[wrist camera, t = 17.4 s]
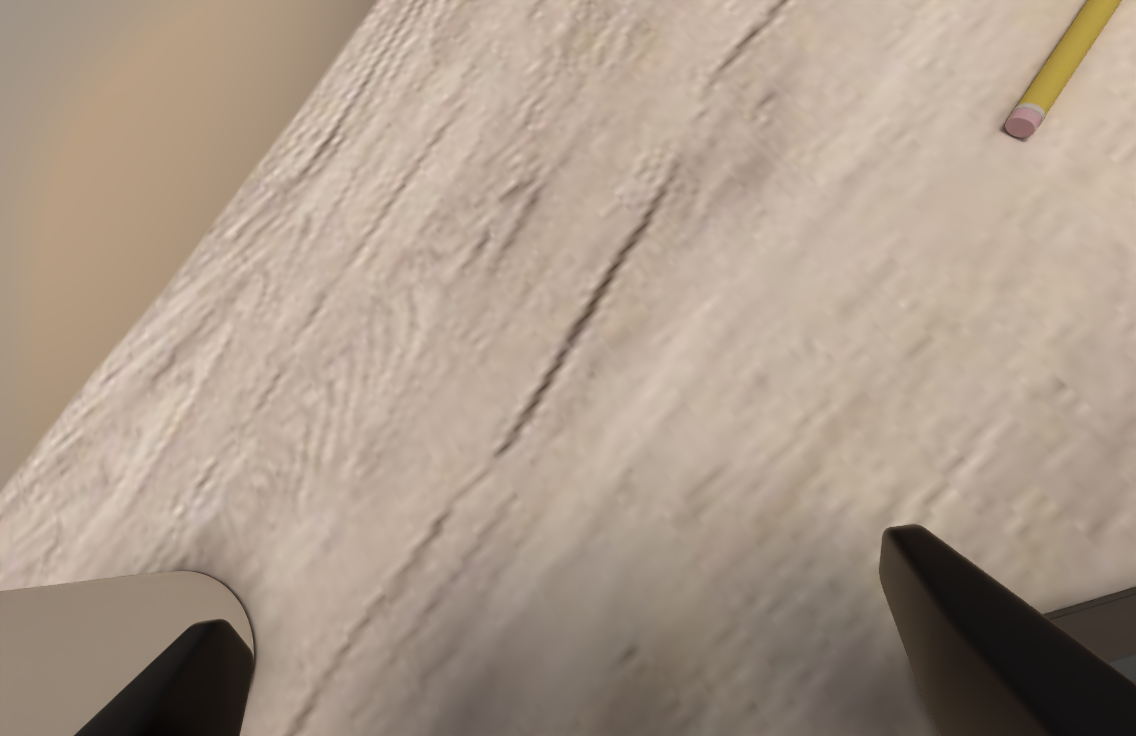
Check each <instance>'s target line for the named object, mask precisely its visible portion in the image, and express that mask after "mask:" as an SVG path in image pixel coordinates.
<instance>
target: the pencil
mask: <svg viewBox="0 0 1136 736" xmlns="http://www.w3.org/2000/svg"><path fill="white" fill-rule="evenodd" d="M1121 1H1122V0H1088V1H1087V2H1086V4H1085V5H1084V7H1083V8H1082V10H1081V11H1080V13H1079V14H1078V16H1077V17H1076V19H1075V20H1074V22H1073V23H1072V25H1071V26H1070V28H1069V29H1068V31H1067V32H1066V34H1065V35H1064V37H1063V38H1062V40H1061V41H1060V43H1059V44H1058V46H1057V47H1056V49H1055V50H1054V52H1053V53H1052V55H1051V56H1050V58H1049V59H1048V61H1047V62H1046V64H1045V65H1044V66H1043V68H1042V69H1041V71H1040V72H1039V74H1038V75H1037V77H1036V78H1035V80H1034V81H1033V83H1032V84H1031V86H1030V87H1029V89H1028V90H1027V92H1026V93H1025V95H1024V96H1023V98H1022V99H1021V101H1020V102H1019V104H1018V105H1017V106H1016V107H1015V108H1014V110H1013V112H1012V113H1011V116H1010V117H1009V119H1008V120H1007V122H1006V124H1005V128H1006V130H1007V132H1008V133H1010V134H1011V135H1013V136H1016V137H1029V136H1031V135H1032V134H1033V133H1034V132H1035V130H1036V129H1037V127H1038V126H1039V125H1040V124H1041V123H1042V121H1043V120H1044V118H1045V115H1046V114H1047V112H1048V111H1049V109H1050V108H1051V106H1052V105H1053V103H1054V102H1055V100H1056V99H1057V97H1058V96H1059V94H1060V93H1061V91H1062V90H1063V88H1064V87H1065V85H1066V84H1067V82H1068V81H1069V79H1070V78H1071V76H1072V75H1073V73H1074V72H1075V70H1076V69H1077V67H1078V66H1079V64H1080V63H1081V61H1082V60H1083V58H1084V57H1085V55H1086V54H1087V52H1088V51H1089V49H1090V48H1091V46H1092V45H1093V43H1094V41H1095V40H1096V38H1097V37H1098V35H1099V34H1100V32H1101V31H1102V29H1103V28H1104V26H1105V25H1106V23H1107V22H1108V20H1109V19H1110V17H1111V16H1112V14H1113V13H1114V11H1115V10H1116V8H1117V7H1118V5H1119V4H1120V2H1121Z"/></svg>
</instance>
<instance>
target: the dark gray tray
mask: <svg viewBox="0 0 1136 736" xmlns="http://www.w3.org/2000/svg"><path fill="white" fill-rule="evenodd" d="M1044 616H1045V617H1046V618H1048V619H1049V620H1051V621H1052V622H1053V623H1055V624H1056V625H1057V626H1059V627H1060V628H1061V629H1063V630H1064V631H1065V632H1067V633H1068V634H1070V635H1071V636H1072V637H1074V638H1075V639H1076V640H1078V641H1079V642H1080V643H1082V644H1083V645H1084V646H1086V647H1087V648H1089V649H1090V650H1091V651H1093V652H1094V653H1095V654H1097V655H1098V656H1099V657H1101V658H1102V659H1104V660H1105V661H1106V662H1108V663H1109V664H1110V665H1112V666H1113V667H1114V668H1116V669H1117V670H1118V671H1120V672H1121V673H1123V674H1124V675H1125V676H1127V677H1128V678H1129V679H1131V680H1132V681H1133V682H1135V683H1136V588H1133V589H1130V590H1126V591H1123V592H1120V593H1116V594H1113V595H1109V596H1106V597H1103V598H1099V599H1096V600H1092V601H1089V602H1086V603H1082V604H1079V605H1076V606H1072V607H1069V608H1065V609H1062V610H1059V611H1055V612H1052V613H1049V614H1045V615H1044Z"/></svg>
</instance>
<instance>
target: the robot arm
mask: <svg viewBox="0 0 1136 736" xmlns="http://www.w3.org/2000/svg"><path fill="white" fill-rule="evenodd" d="M879 575H880V581H881V585H882V588H883V591H884V593H885V596H886V599H887V602H888V604H889V607H890V610H891V612H892V615H893V618H894V621H895V623H896V626H897V629H898V631H899V634H900V637H901V640H902V642H903V645H904V648H905V650H906V653H907V656H908V658H909V661H910V664H911V667H912V669H913V672H914V675H915V677H916V680H917V683H918V686H919V688H920V691H921V693H922V696H923V698H924V701H925V704H926V706H927V708H928V711H929V713H930V715H931V717H932V719H933V721H934V723H935V726H936V728H937V730H938V732H939V734H940V736H1136V683H1135V682H1133V681H1132V680H1131V679H1129V678H1128V677H1127V676H1125V675H1124V674H1123V673H1121V672H1120V671H1118V670H1117V669H1116V668H1114V667H1113V666H1112V665H1110V664H1109V663H1108V662H1106V661H1105V660H1104V659H1102V658H1101V657H1099V656H1098V655H1097V654H1095V653H1094V652H1093V651H1091V650H1090V649H1089V648H1087V647H1086V646H1084V645H1083V644H1082V643H1080V642H1079V641H1078V640H1076V639H1075V638H1074V637H1072V636H1071V635H1070V634H1068V633H1067V632H1065V631H1064V630H1063V629H1061V628H1060V627H1059V626H1057V625H1056V624H1055V623H1053V622H1052V621H1051V620H1049V619H1048V618H1046V617H1045V616H1044V615H1042V614H1041V613H1040V612H1038V611H1037V610H1036V609H1034V608H1033V607H1032V606H1030V605H1029V604H1027V603H1026V602H1025V601H1023V600H1022V599H1021V598H1019V597H1018V596H1017V595H1015V594H1014V593H1013V592H1011V591H1010V590H1008V589H1007V588H1006V587H1004V586H1003V585H1002V584H1000V583H999V582H998V581H996V580H995V579H993V578H992V577H991V576H989V575H988V574H987V573H985V572H984V571H983V570H981V569H980V568H979V567H977V566H976V565H974V564H973V563H972V562H970V561H969V560H968V559H966V558H965V557H964V556H962V555H961V554H960V553H958V552H957V551H955V550H954V549H953V548H951V547H950V546H949V545H947V544H946V543H945V542H943V541H942V540H941V539H939V538H938V537H936V536H935V535H934V534H932V533H931V532H930V531H928V530H927V529H925V528H924V527H922V526H920V525H916V524H910V525H903V526H896V527H889V528H887V529H886V530H885V531H884V532H883V536H882V545H881V555H880V565H879ZM253 669H254V658H253V654H252V651H251V649H250V648H249V647H248V645H247V644H246V643H245V642H244V640H243V639H242V638H241V637H240V635H239V634H238V633H237V632H236V630H235V629H234V628H233V626H232V625H231V624H230V623H229V622H228V621H226V620H224V619H214V620H207V621H201V622H197V623H195V624H193V625H191V626H190V627H189V628H187V629H186V630H185V631H184V632H183V633H182V634H181V635H180V636H179V637H178V638H177V639H176V640H175V641H173V642H172V643H171V644H170V645H169V646H168V647H167V648H166V649H165V650H164V651H163V652H162V653H161V654H160V655H159V656H158V657H157V658H155V659H154V660H153V661H152V662H151V663H150V664H149V665H148V666H147V667H146V668H145V669H144V670H143V671H142V672H141V673H140V674H138V675H137V676H136V677H135V678H134V679H133V680H132V681H131V682H130V683H129V684H128V685H127V686H126V687H125V688H124V689H123V690H121V691H120V692H119V693H118V694H117V695H116V696H115V697H114V698H113V699H112V700H111V701H110V702H109V703H108V704H107V705H106V706H105V707H103V708H102V709H101V710H100V711H99V712H98V713H97V714H96V715H95V716H94V717H93V718H92V719H91V720H90V721H89V722H88V723H86V724H85V725H84V726H83V727H82V728H81V729H80V730H79V731H78V732H77V733H76V734H75V735H74V736H240V731H241V726H242V722H243V717H244V712H245V707H246V703H247V698H248V693H249V688H250V684H251V679H252V674H253Z"/></svg>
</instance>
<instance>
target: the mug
mask: <svg viewBox="0 0 1136 736" xmlns="http://www.w3.org/2000/svg"><path fill="white" fill-rule="evenodd" d="M214 619H224V620H226V621H228V622H229V623H230V624H231V625H232V626H233V628H234V629H235V630H236V632H237V633H238V634H239V635H240V637H241V638H242V639H243V640H244V642H245V643H246V644H247V645H248V647H249V648H250V649H251V651H252V654H253V658H254V646H253V637H252V632H251V628H250V624H249V621H248V618H247V616H246V614H245V611H244V609H243V608H242V606H241V604H240V603H239V601H238V600H237V598H236V597H235V596H234V595H233V593H232V592H231V591H230V590H229V589H228V588H226V587H225V586H224V585H223V584H221V583H220V582H219V581H217V580H215V579H213V578H211V577H209V576H207V575H204V574H200V573H196V572H191V571H171V572H161V573H150V574H140V575H130V576H121V577H113V578H105V579H97V580H90V581H82V582H74V583H66V584H57V585H49V586H41V587H32V588H24V589H16V590H7V591H0V736H74V735H75V734H76V733H77V732H78V731H79V730H80V729H81V728H82V727H83V726H84V725H85V724H86V723H88V722H89V721H90V720H91V719H92V718H93V717H94V716H95V715H96V714H97V713H98V712H99V711H100V710H101V709H102V708H103V707H105V706H106V705H107V704H108V703H109V702H110V701H111V700H112V699H113V698H114V697H115V696H116V695H117V694H118V693H119V692H120V691H121V690H123V689H124V688H125V687H126V686H127V685H128V684H129V683H130V682H131V681H132V680H133V679H134V678H135V677H136V676H137V675H138V674H140V673H141V672H142V671H143V670H144V669H145V668H146V667H147V666H148V665H149V664H150V663H151V662H152V661H153V660H154V659H155V658H157V657H158V656H159V655H160V654H161V653H162V652H163V651H164V650H165V649H166V648H167V647H168V646H169V645H170V644H171V643H172V642H173V641H175V640H176V639H177V638H178V637H179V636H180V635H181V634H182V633H183V632H184V631H185V630H186V629H187V628H189V627H190V626H191V625H193V624H195V623H197V622H201V621H207V620H214Z"/></svg>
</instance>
